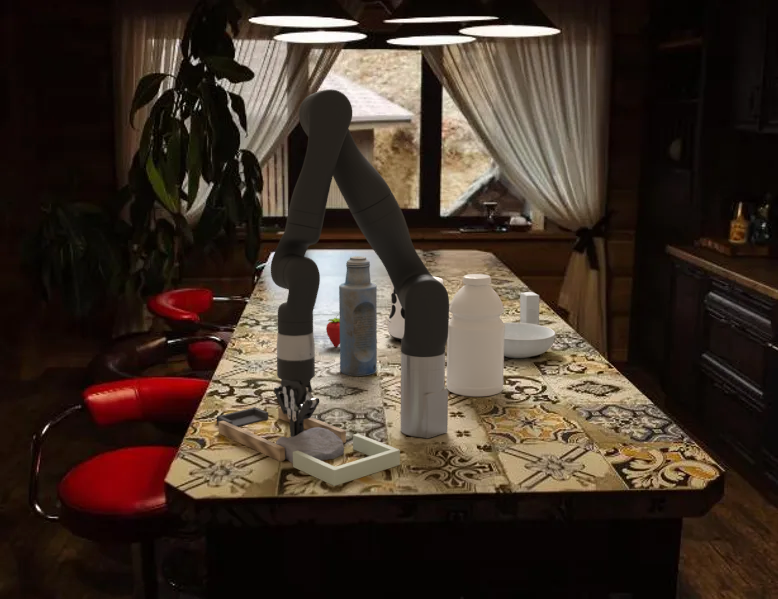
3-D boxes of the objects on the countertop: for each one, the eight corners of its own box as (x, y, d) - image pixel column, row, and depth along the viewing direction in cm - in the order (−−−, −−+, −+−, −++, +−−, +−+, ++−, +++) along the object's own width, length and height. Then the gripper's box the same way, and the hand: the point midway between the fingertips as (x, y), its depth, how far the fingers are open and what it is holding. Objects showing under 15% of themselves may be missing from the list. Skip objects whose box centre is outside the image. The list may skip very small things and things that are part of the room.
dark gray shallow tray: (268, 418, 212) (268, 412, 211) (229, 428, 205) (229, 421, 205) (255, 413, 215) (255, 407, 215) (216, 423, 209) (216, 416, 208)
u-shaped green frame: (399, 464, 184) (399, 449, 184) (334, 485, 174) (334, 470, 173) (357, 447, 194) (357, 433, 193) (293, 466, 183) (292, 451, 183)
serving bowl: (520, 368, 254) (521, 342, 253) (463, 353, 270) (464, 329, 268) (570, 355, 268) (571, 331, 266) (513, 341, 283) (514, 318, 282)
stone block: (349, 463, 191) (320, 441, 198) (351, 442, 189) (322, 420, 196) (298, 479, 184) (271, 455, 191) (300, 457, 182) (272, 434, 189)
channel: (345, 442, 197) (345, 430, 196) (279, 461, 186) (279, 449, 186) (282, 417, 213) (282, 406, 212) (218, 433, 202) (218, 421, 202)
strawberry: (345, 343, 280) (345, 310, 278) (348, 350, 272) (347, 315, 270) (325, 344, 279) (325, 310, 277) (327, 350, 271) (326, 316, 270)
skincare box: (539, 334, 292) (541, 295, 290) (525, 335, 291) (527, 295, 289) (532, 329, 298) (533, 291, 296) (518, 330, 297) (519, 291, 295)
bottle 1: (348, 378, 244) (347, 261, 238) (334, 368, 253) (333, 255, 247) (382, 374, 248) (382, 258, 242) (368, 365, 256) (368, 253, 251)
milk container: (458, 341, 283) (459, 281, 280) (410, 349, 274) (410, 286, 270) (423, 330, 297) (423, 272, 294) (376, 337, 288) (376, 278, 284)
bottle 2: (438, 393, 231) (440, 278, 225) (454, 379, 243) (456, 269, 238) (496, 400, 226) (499, 282, 220) (509, 384, 239) (512, 273, 233)
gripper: (330, 357, 189) (331, 441, 193) (292, 345, 199) (293, 425, 203) (299, 364, 185) (300, 449, 188) (261, 350, 194) (263, 432, 198)
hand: (296, 436), depth 195 cm, fingers closed
